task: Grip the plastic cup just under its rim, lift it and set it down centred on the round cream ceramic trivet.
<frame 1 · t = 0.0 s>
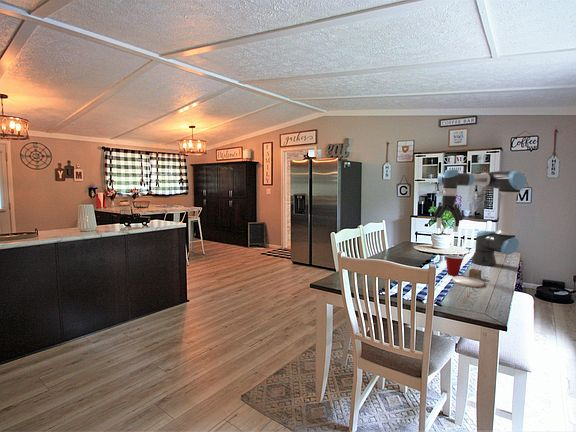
hand: (446, 229, 210), 28 cm above the table, tool pointing down, fingers open, 13 cm apart
trivet: (467, 282, 197), on the table
walnut block: (474, 278, 207), on the table
plastic cup: (452, 274, 213), on the table
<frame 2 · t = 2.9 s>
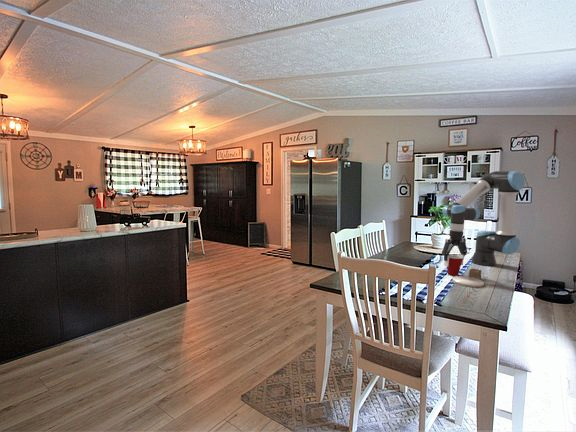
hand: (453, 265, 212), 6 cm above the table, tool pointing down, fingers closed on plastic cup, 11 cm apart
plastic cup: (452, 274, 213), on the table, touching gripper
everything else where it was.
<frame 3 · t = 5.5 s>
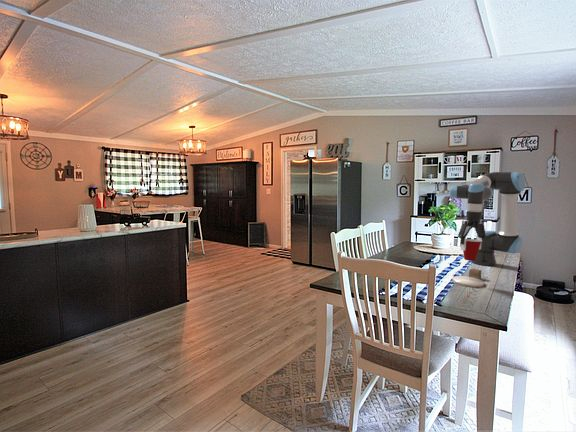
hand: (470, 249, 195), 20 cm above the table, tool pointing down, fingers closed on plastic cup, 11 cm apart
plastic cup: (469, 260, 195), point 13 cm above the table, touching gripper
everything else where it was.
when the fingers open (9 cm above the table, at t = 8.3 s): plastic cup drops 1 cm, resting on trivet.
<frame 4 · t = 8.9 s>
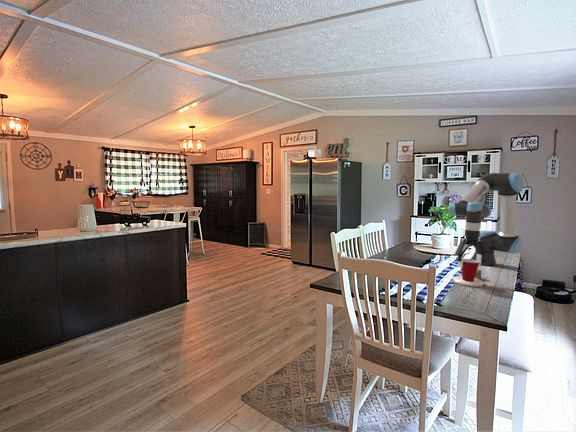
hand: (469, 266, 196), 10 cm above the table, tool pointing down, fingers open, 13 cm apart
plastic cup: (467, 280, 197), point 1 cm above the table, touching trivet
everything else where it was.
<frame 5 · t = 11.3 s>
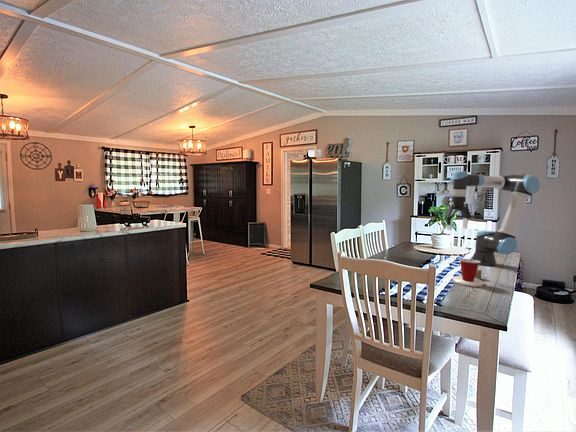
hand: (457, 229, 218), 27 cm above the table, tool pointing down, fingers open, 13 cm apart
nothing on the table moved.
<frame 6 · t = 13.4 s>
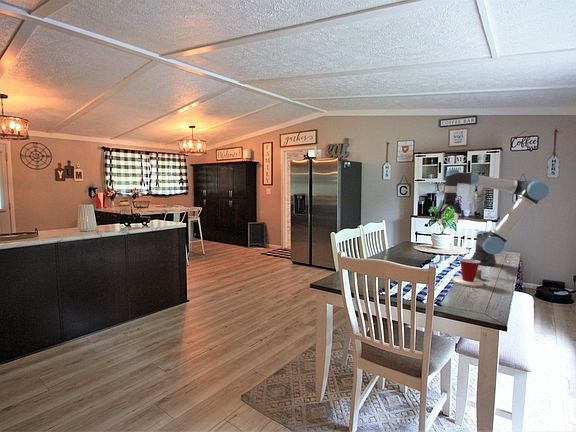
hand: (448, 223, 233), 29 cm above the table, tool pointing down, fingers open, 13 cm apart
nothing on the table moved.
at the end: plastic cup 0.0 cm from the trivet (horizontally); plastic cup touching trivet; plastic cup tilted 0° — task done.
